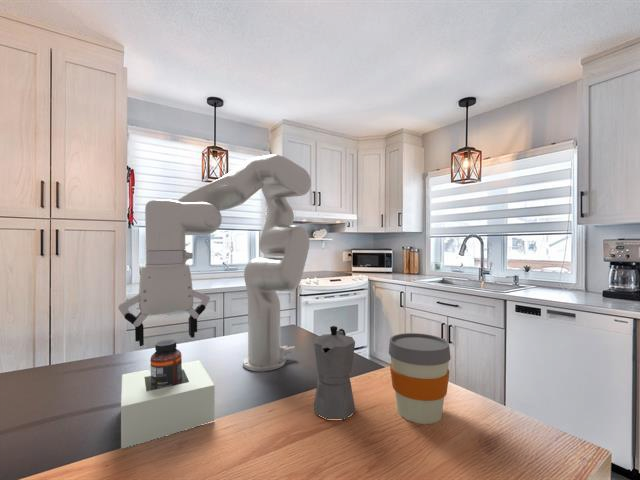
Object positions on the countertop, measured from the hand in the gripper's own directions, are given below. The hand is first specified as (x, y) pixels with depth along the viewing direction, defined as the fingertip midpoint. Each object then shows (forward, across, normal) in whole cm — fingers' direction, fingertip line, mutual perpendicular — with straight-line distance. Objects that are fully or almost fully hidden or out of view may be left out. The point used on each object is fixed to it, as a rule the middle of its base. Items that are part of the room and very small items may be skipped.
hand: (167, 340), depth 67 cm
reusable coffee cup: (+16, -46, +27) cm, 56 cm away
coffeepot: (+16, -32, +16) cm, 39 cm away
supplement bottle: (+12, 0, 0) cm, 12 cm away
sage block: (+16, 0, 0) cm, 16 cm away
